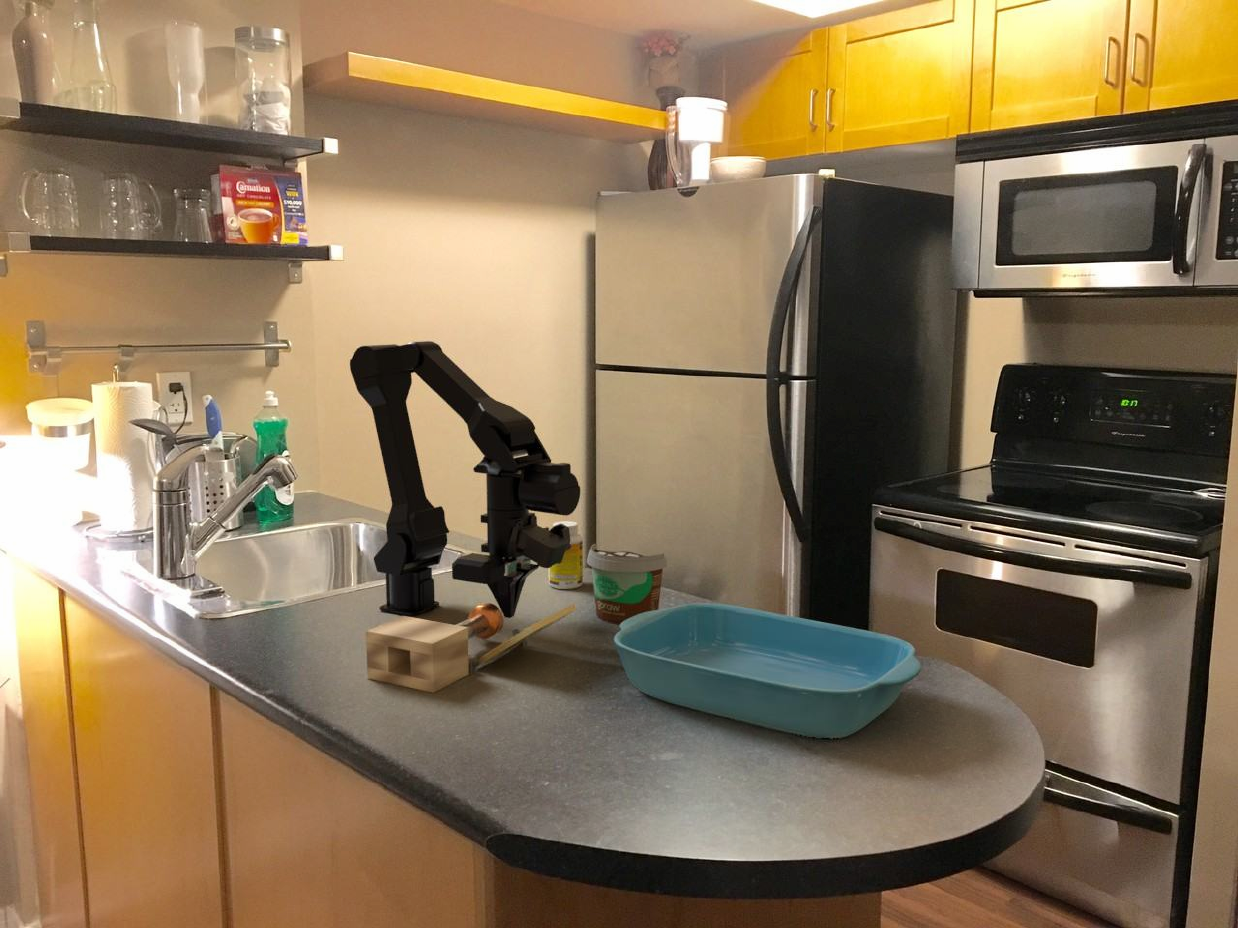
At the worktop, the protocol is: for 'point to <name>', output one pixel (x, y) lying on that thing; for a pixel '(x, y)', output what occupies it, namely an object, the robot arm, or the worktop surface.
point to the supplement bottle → (569, 562)
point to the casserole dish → (766, 667)
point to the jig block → (417, 653)
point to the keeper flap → (525, 635)
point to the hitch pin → (484, 621)
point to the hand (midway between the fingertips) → (509, 616)
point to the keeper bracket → (473, 658)
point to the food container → (625, 583)
